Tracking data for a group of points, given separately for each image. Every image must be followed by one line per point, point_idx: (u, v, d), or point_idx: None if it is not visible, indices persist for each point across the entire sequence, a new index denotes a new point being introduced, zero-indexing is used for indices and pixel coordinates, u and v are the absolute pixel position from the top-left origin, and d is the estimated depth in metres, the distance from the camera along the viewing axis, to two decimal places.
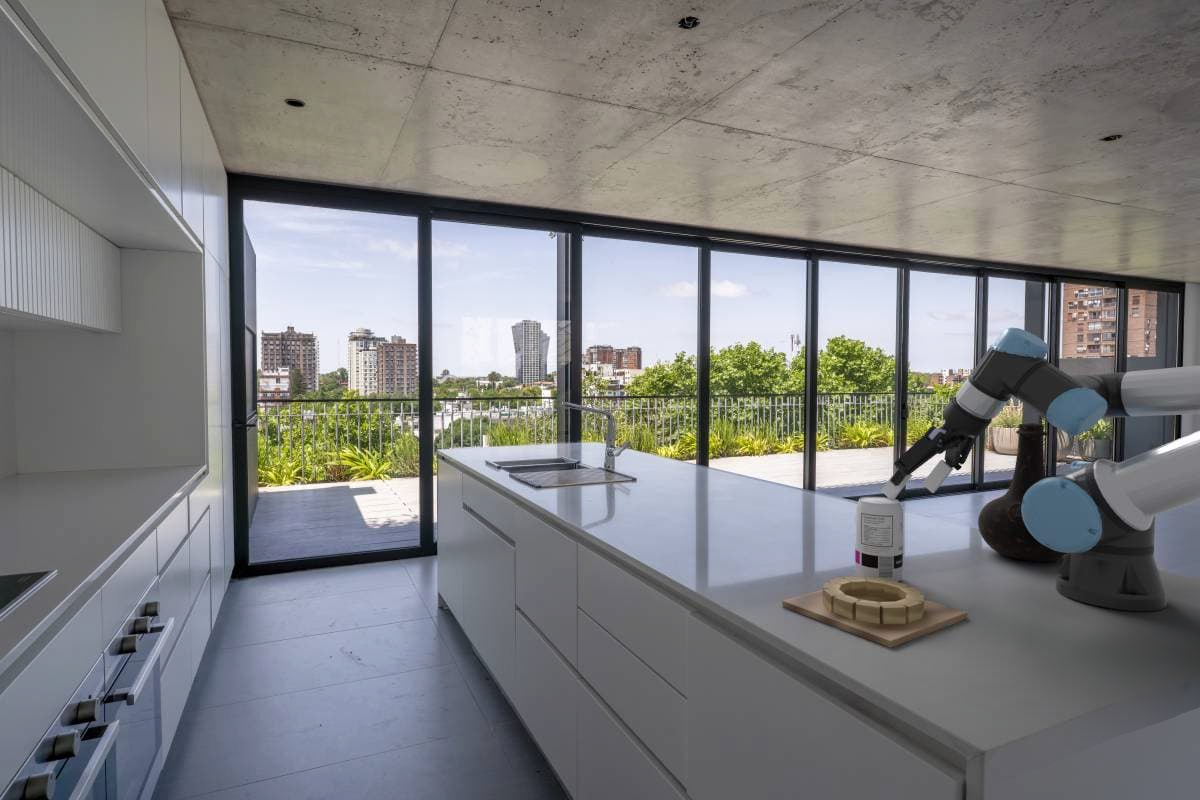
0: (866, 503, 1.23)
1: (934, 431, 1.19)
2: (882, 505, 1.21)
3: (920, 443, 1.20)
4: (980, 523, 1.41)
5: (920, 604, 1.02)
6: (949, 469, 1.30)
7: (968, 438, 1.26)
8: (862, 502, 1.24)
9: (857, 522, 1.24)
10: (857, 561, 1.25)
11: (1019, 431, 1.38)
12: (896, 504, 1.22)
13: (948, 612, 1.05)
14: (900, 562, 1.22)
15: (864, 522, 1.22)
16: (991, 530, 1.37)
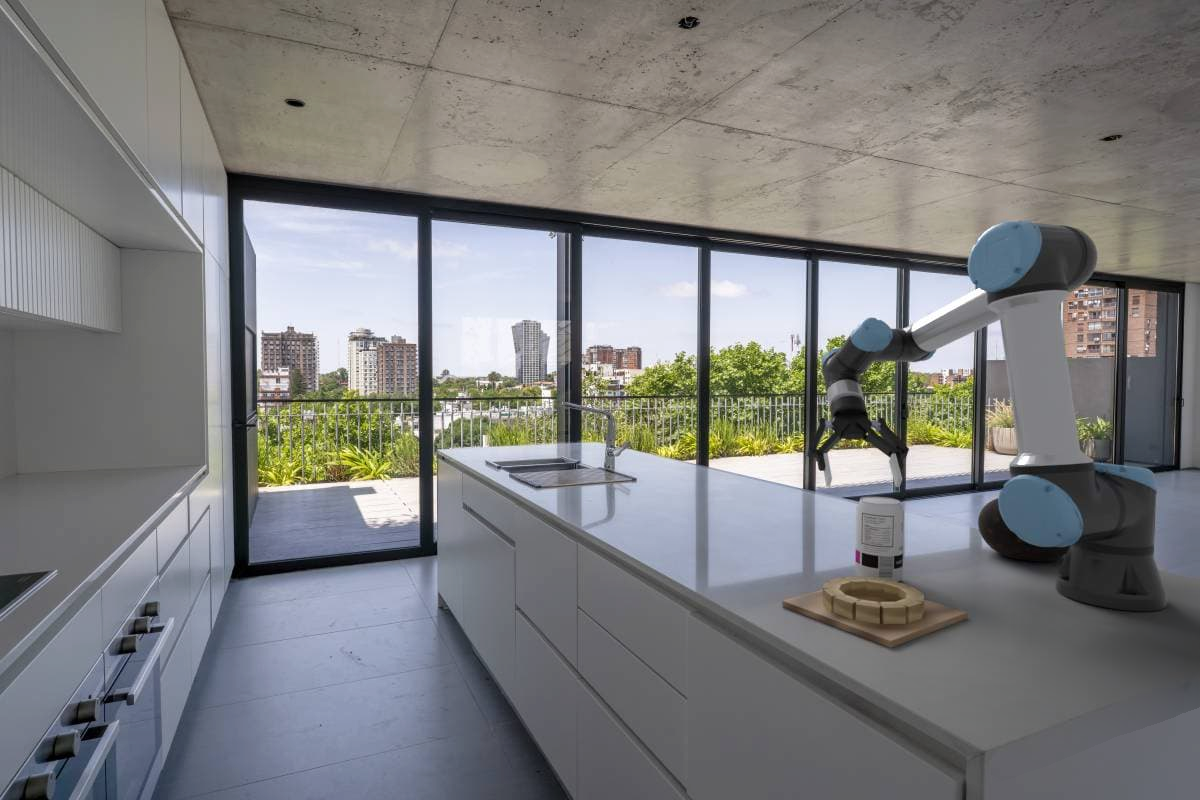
0: (867, 503, 1.23)
1: None
2: (883, 505, 1.21)
3: None
4: (980, 523, 1.41)
5: (920, 604, 1.02)
6: (891, 455, 1.37)
7: (881, 429, 1.43)
8: (863, 502, 1.24)
9: (858, 522, 1.24)
10: (857, 561, 1.25)
11: None
12: (897, 505, 1.22)
13: (948, 612, 1.05)
14: (900, 562, 1.22)
15: (865, 521, 1.22)
16: (991, 530, 1.37)
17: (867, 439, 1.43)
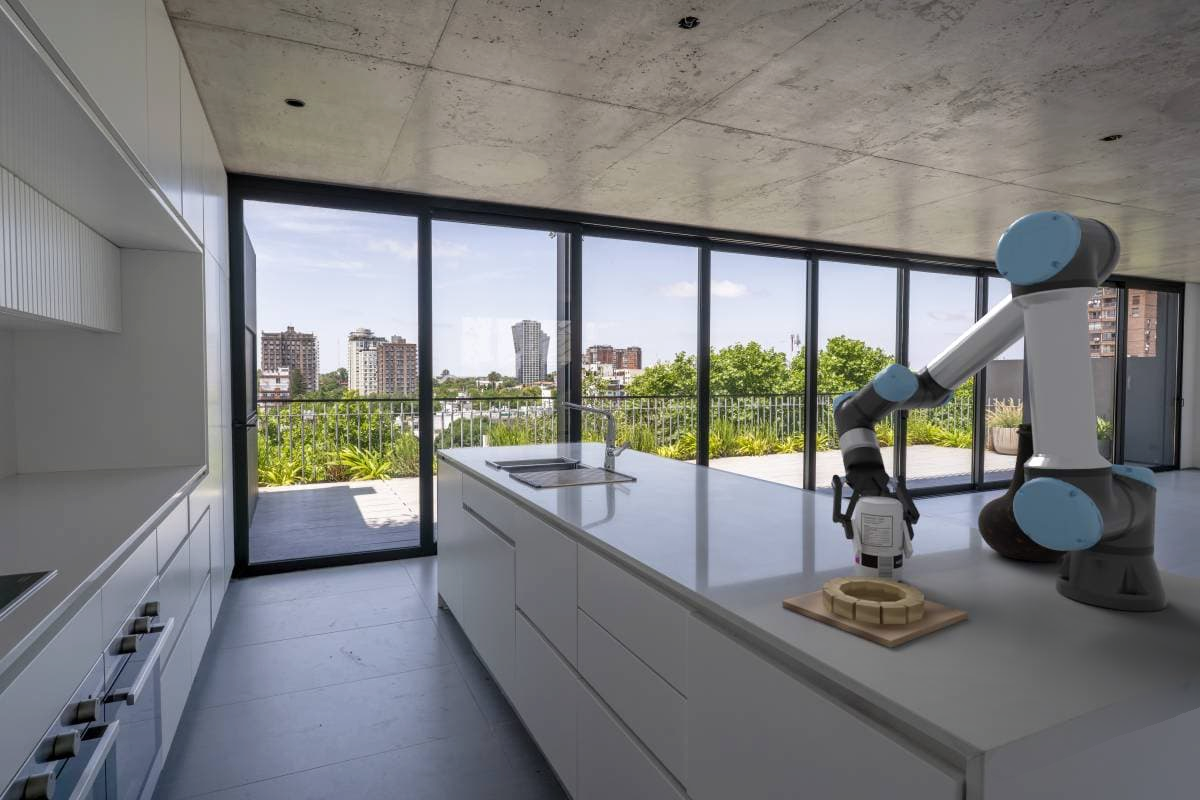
0: (866, 503, 1.23)
1: (832, 481, 1.33)
2: (882, 505, 1.21)
3: (834, 495, 1.31)
4: (980, 523, 1.41)
5: (920, 604, 1.02)
6: None
7: (898, 487, 1.30)
8: (862, 502, 1.24)
9: (857, 522, 1.24)
10: (857, 561, 1.25)
11: (1019, 431, 1.38)
12: (896, 505, 1.22)
13: (948, 612, 1.05)
14: (900, 562, 1.22)
15: (864, 522, 1.22)
16: (991, 530, 1.37)
17: None
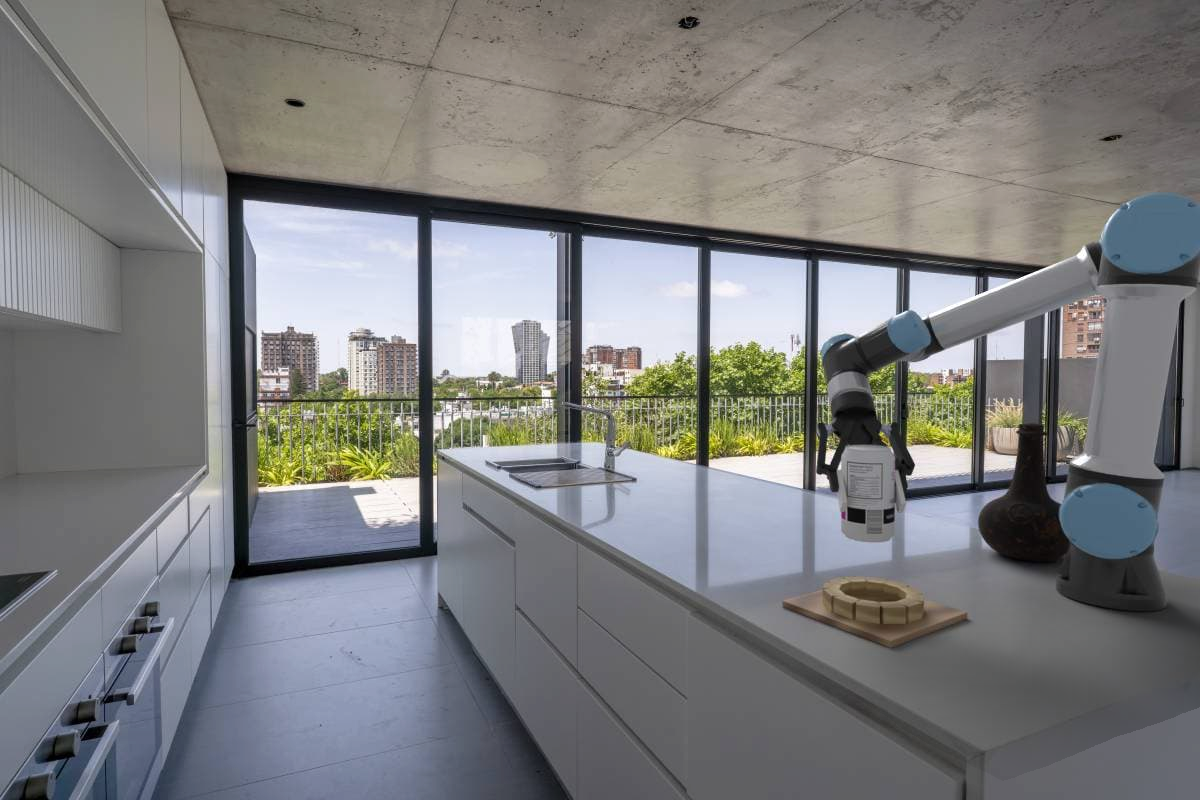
0: (852, 450, 1.08)
1: (817, 429, 1.19)
2: (870, 452, 1.06)
3: None
4: (980, 523, 1.41)
5: (920, 604, 1.02)
6: None
7: (891, 436, 1.15)
8: (848, 449, 1.09)
9: (843, 472, 1.10)
10: (843, 516, 1.10)
11: (1019, 431, 1.38)
12: (887, 451, 1.07)
13: (948, 612, 1.05)
14: (891, 517, 1.07)
15: (850, 471, 1.08)
16: (991, 530, 1.37)
17: None
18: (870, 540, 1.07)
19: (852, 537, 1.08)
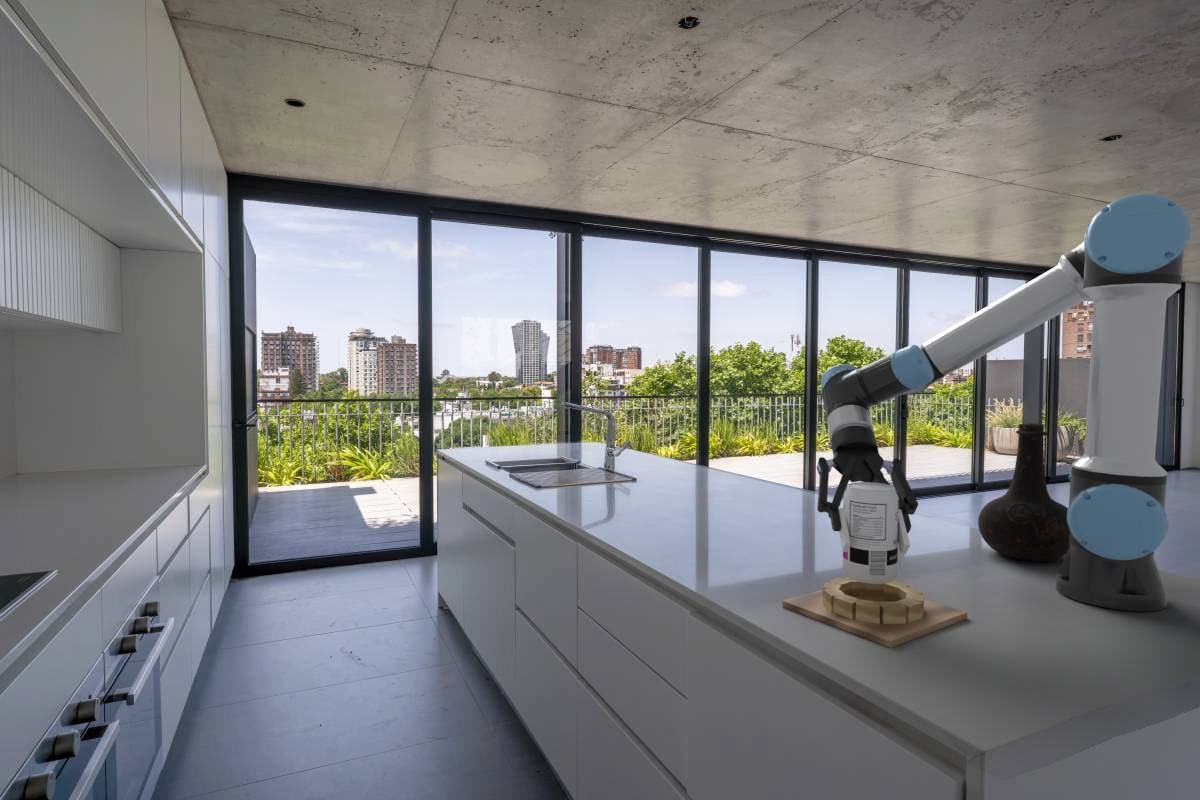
0: (856, 489, 1.06)
1: None
2: (874, 492, 1.04)
3: (819, 480, 1.14)
4: (980, 523, 1.41)
5: (920, 604, 1.02)
6: None
7: (893, 472, 1.13)
8: (851, 488, 1.07)
9: (845, 511, 1.07)
10: (845, 556, 1.08)
11: (1019, 431, 1.38)
12: (891, 491, 1.04)
13: (948, 612, 1.05)
14: (894, 558, 1.05)
15: (854, 511, 1.05)
16: (991, 530, 1.37)
17: None
18: (873, 582, 1.04)
19: (854, 578, 1.06)
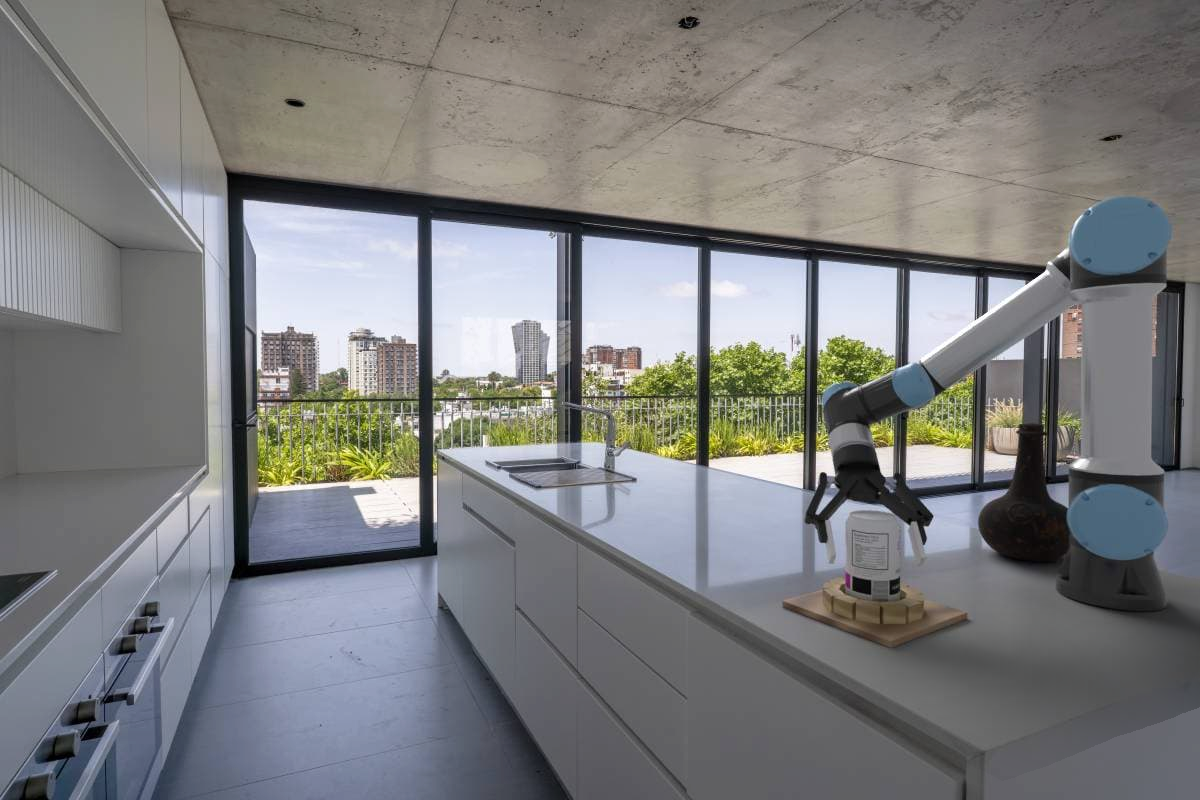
0: (857, 518, 1.06)
1: None
2: (876, 521, 1.04)
3: None
4: (980, 523, 1.41)
5: (920, 604, 1.02)
6: (911, 523, 1.08)
7: (898, 488, 1.13)
8: (853, 517, 1.07)
9: (847, 540, 1.07)
10: (847, 585, 1.08)
11: (1019, 431, 1.38)
12: (893, 520, 1.05)
13: (948, 612, 1.05)
14: (897, 587, 1.05)
15: (856, 540, 1.05)
16: (991, 530, 1.37)
17: (880, 500, 1.13)
18: None
19: None
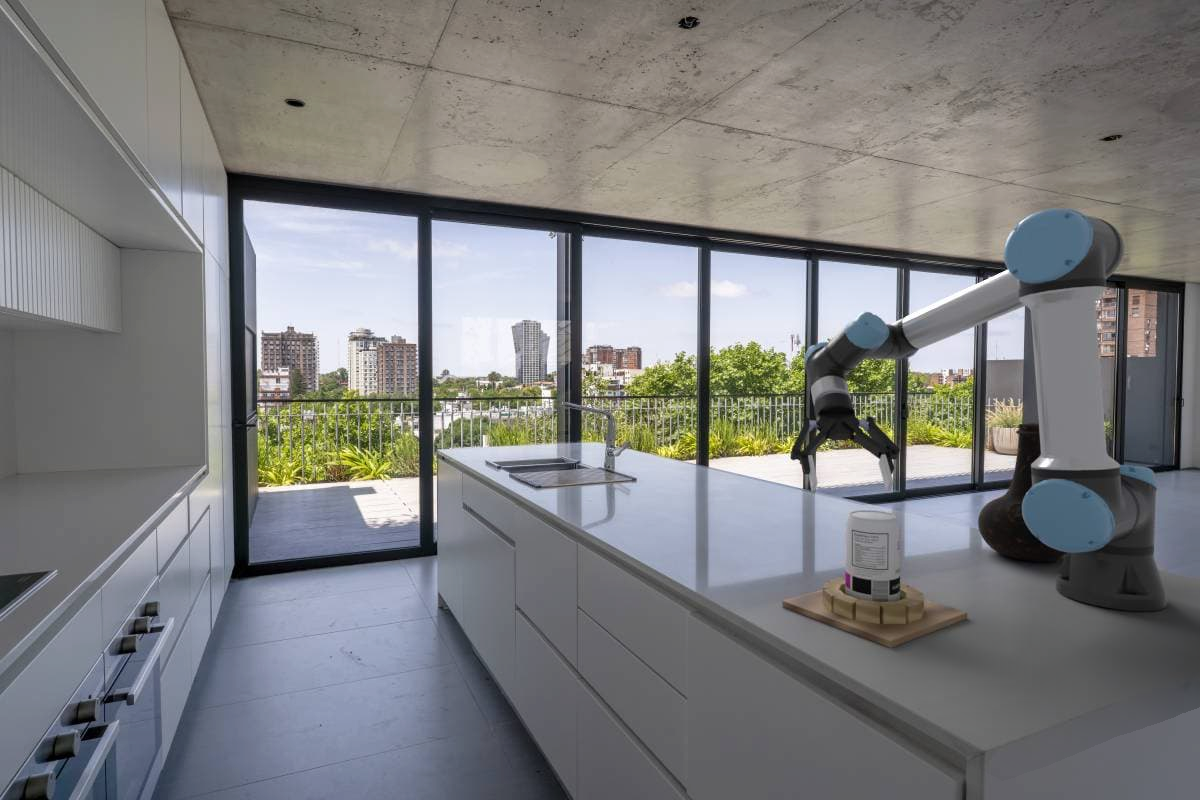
0: (857, 518, 1.06)
1: (802, 423, 1.36)
2: (876, 521, 1.04)
3: None
4: (980, 523, 1.41)
5: (920, 604, 1.02)
6: (881, 456, 1.27)
7: (870, 428, 1.32)
8: (853, 517, 1.07)
9: (847, 540, 1.07)
10: (847, 585, 1.08)
11: (1019, 431, 1.38)
12: (893, 520, 1.05)
13: (948, 612, 1.05)
14: (897, 587, 1.05)
15: (856, 540, 1.05)
16: (991, 530, 1.37)
17: (855, 439, 1.32)
18: None
19: None
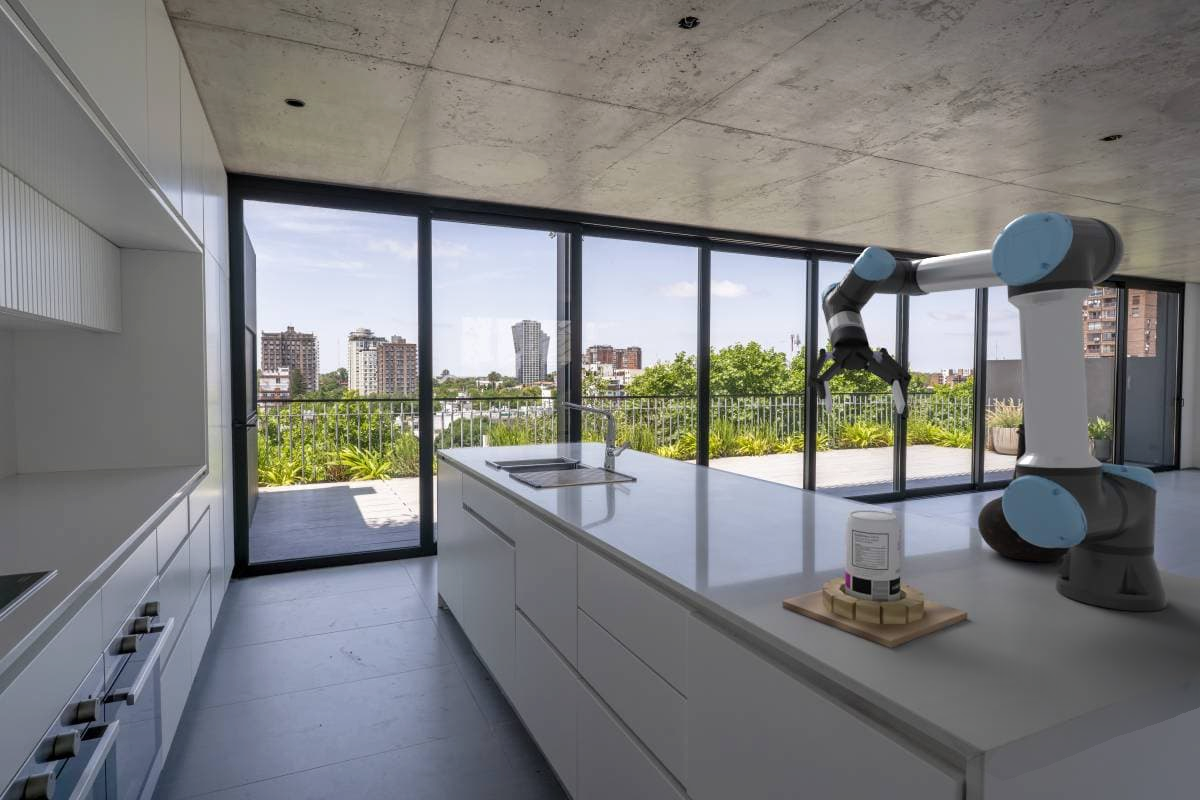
0: (858, 518, 1.06)
1: (819, 354, 1.43)
2: (876, 521, 1.04)
3: None
4: (980, 523, 1.41)
5: (920, 604, 1.02)
6: (894, 382, 1.34)
7: (883, 358, 1.39)
8: (853, 517, 1.07)
9: (847, 540, 1.07)
10: (847, 585, 1.08)
11: (1019, 431, 1.38)
12: (893, 520, 1.05)
13: (948, 612, 1.05)
14: (897, 587, 1.05)
15: (856, 540, 1.05)
16: (991, 530, 1.37)
17: (869, 369, 1.39)
18: None
19: None
